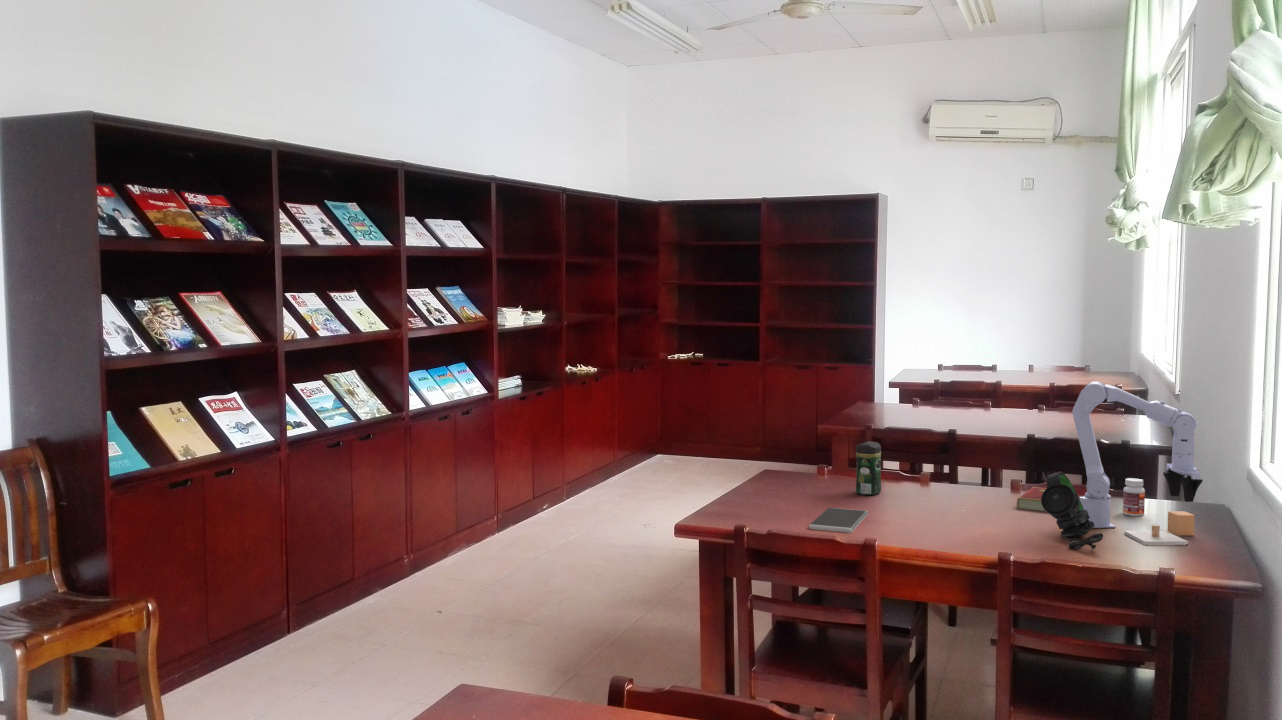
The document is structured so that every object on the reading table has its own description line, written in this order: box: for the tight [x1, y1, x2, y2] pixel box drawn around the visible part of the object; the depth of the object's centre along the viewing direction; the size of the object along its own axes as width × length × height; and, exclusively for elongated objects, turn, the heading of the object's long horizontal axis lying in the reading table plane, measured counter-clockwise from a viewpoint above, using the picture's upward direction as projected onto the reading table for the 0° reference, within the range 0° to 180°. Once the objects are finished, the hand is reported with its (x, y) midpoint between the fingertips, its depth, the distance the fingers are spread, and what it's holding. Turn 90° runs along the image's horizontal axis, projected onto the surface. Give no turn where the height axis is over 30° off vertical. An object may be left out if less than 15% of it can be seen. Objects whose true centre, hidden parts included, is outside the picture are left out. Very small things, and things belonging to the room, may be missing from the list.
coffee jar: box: [855, 440, 882, 496], centre depth 339 cm, size 10×8×19 cm
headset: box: [1041, 471, 1104, 550], centre depth 275 cm, size 18×14×29 cm
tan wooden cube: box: [1167, 510, 1195, 536], centre depth 281 cm, size 5×5×6 cm
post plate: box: [1123, 524, 1189, 546], centre depth 274 cm, size 12×12×4 cm
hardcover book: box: [1016, 486, 1047, 512], centre depth 321 cm, size 12×21×4 cm, turn 145°
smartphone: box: [808, 507, 869, 534], centre depth 299 cm, size 13×27×2 cm, turn 156°
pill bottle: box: [1122, 477, 1146, 517], centre depth 305 cm, size 6×6×11 cm
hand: (1181, 498), depth 281 cm, fingers open, 7 cm apart
